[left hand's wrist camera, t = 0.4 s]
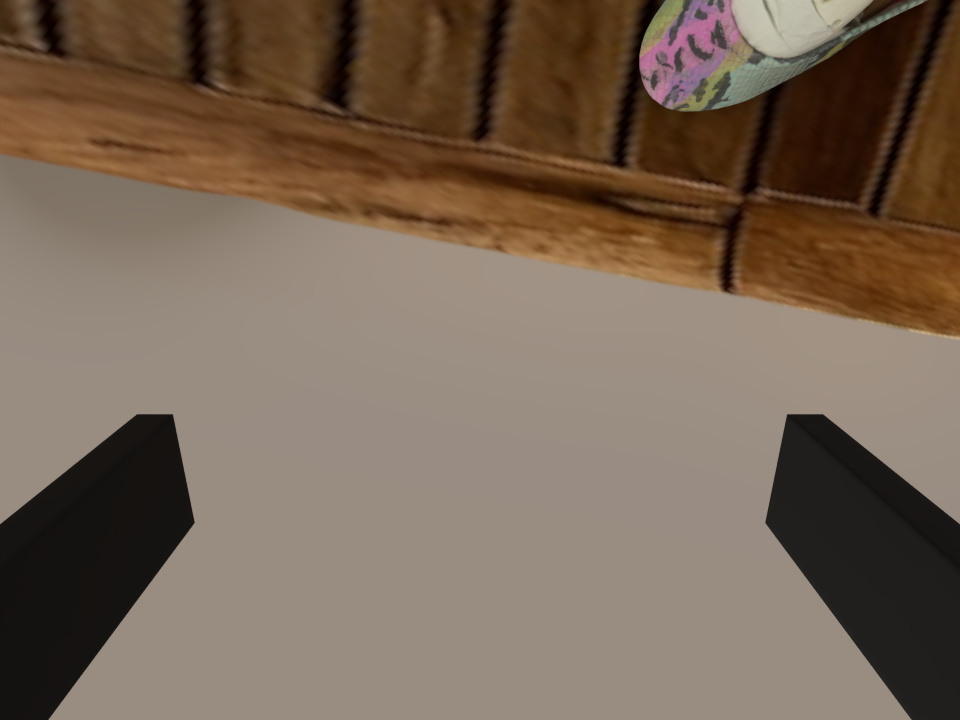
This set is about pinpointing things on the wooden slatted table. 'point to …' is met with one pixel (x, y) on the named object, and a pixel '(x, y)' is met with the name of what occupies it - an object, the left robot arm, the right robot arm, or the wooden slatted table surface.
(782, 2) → the ballet flat
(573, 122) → the wooden slatted table surface
